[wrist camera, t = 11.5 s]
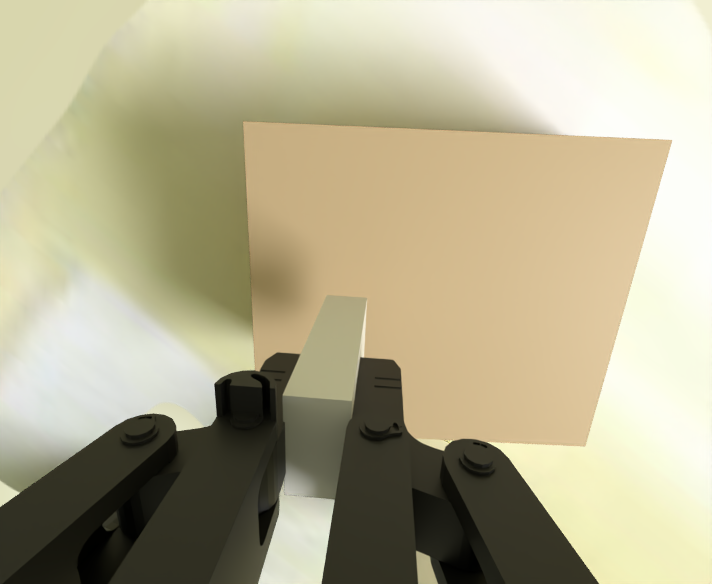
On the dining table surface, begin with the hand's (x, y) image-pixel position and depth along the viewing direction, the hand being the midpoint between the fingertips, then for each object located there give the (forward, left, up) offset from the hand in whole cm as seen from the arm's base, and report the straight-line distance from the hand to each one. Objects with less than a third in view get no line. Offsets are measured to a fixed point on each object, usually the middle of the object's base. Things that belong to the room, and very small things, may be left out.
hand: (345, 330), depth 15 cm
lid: (+4, 0, -3) cm, 5 cm away
